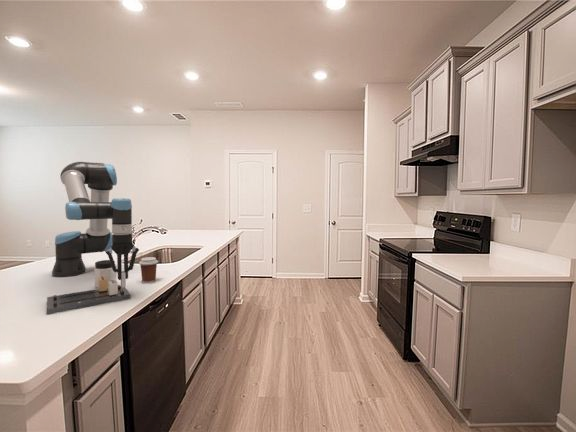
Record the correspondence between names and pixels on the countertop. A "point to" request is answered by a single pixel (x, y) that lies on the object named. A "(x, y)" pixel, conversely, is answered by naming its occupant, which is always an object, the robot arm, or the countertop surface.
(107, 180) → the robot arm
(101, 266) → the jar
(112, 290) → the fader
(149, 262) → the coffee cup
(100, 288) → the block
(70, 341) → the countertop surface
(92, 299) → the console
